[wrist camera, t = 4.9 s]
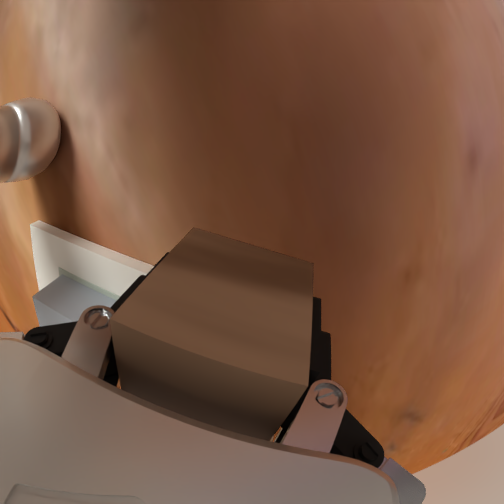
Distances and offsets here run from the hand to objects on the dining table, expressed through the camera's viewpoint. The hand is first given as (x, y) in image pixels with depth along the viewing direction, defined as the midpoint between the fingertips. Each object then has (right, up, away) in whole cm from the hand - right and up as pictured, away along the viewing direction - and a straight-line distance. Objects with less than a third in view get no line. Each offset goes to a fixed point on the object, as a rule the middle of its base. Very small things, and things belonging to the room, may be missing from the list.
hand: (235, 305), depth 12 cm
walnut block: (0, 0, +1) cm, 1 cm away
